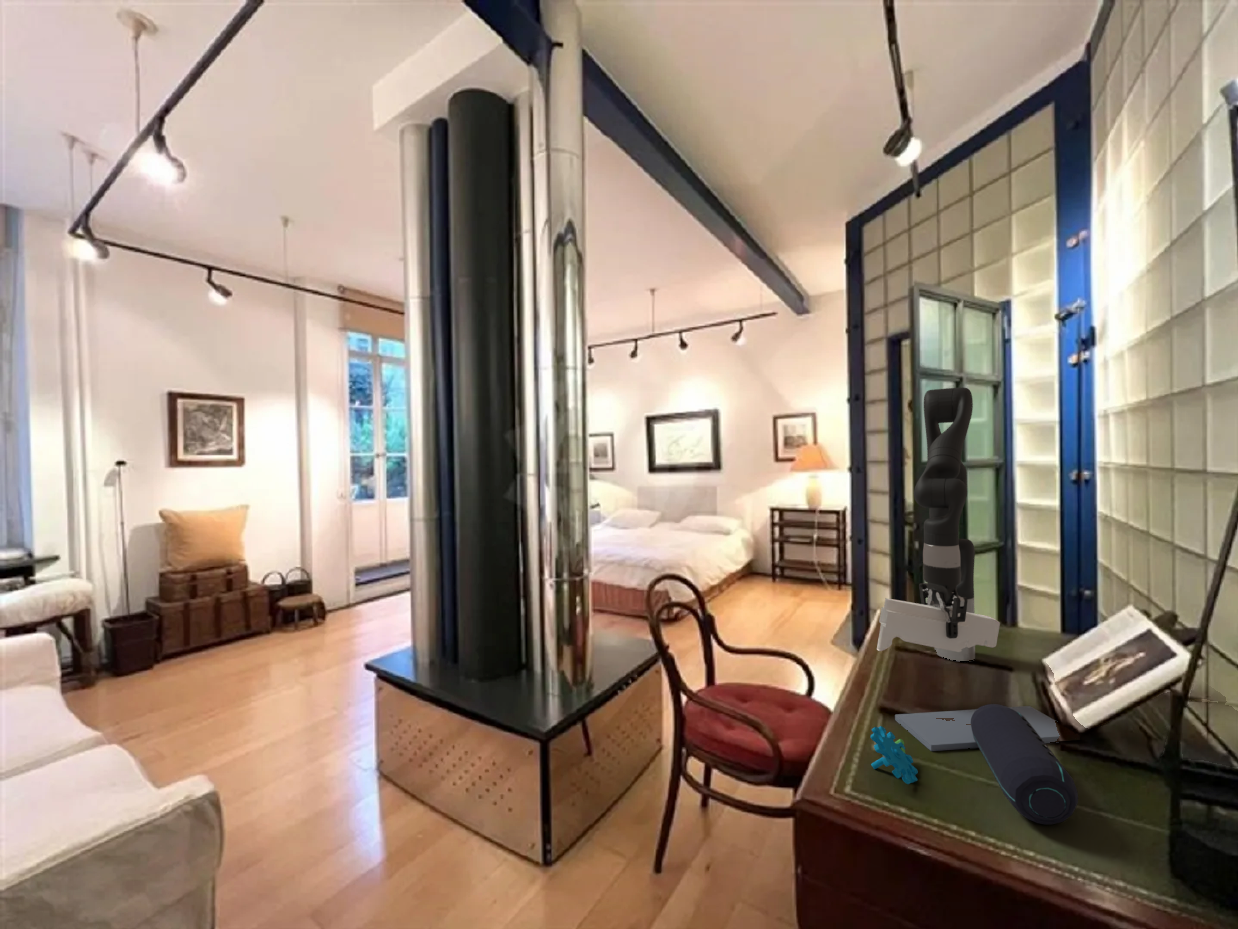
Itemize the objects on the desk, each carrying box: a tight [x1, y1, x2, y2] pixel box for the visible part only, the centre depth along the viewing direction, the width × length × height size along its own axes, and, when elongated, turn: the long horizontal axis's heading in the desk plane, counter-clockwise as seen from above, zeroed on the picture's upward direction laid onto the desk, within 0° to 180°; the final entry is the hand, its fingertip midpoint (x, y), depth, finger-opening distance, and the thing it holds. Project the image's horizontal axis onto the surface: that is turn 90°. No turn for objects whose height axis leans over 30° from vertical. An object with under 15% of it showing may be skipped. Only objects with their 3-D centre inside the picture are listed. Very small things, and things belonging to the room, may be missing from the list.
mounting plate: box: [894, 705, 1060, 752], centre depth 110 cm, size 12×31×1 cm, turn 94°
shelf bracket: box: [876, 597, 1001, 652], centre depth 125 cm, size 6×25×13 cm, turn 84°
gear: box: [870, 725, 919, 785], centre depth 97 cm, size 11×6×10 cm
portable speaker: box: [971, 703, 1079, 825], centre depth 92 cm, size 25×10×10 cm, turn 160°
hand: (942, 632), depth 125 cm, fingers closed on shelf bracket, 5 cm apart
